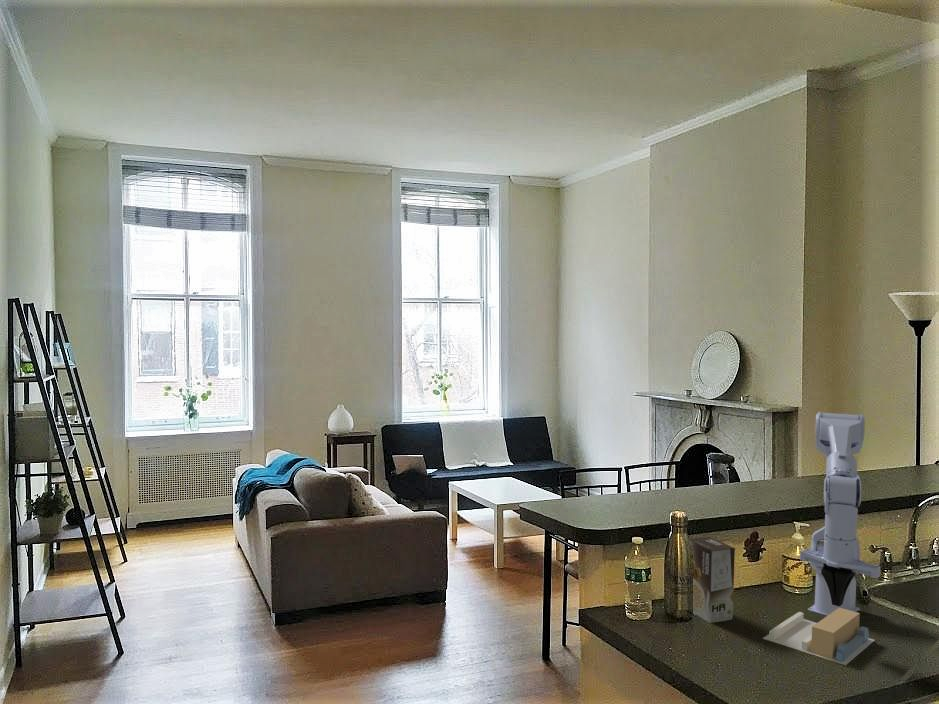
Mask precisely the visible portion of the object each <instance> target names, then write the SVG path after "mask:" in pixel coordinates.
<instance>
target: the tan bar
mask: <svg viewBox="0 0 939 704" xmlns="http://www.w3.org/2000/svg"><path fill="white" fill-rule="evenodd" d="M859 628H860V612H858V611H856V612H854V611H850V610H846V609H843V608H838V609H836V610H835V611H834V612H832V613H831V614H829V615H825V616H824V618H822V619H821V620H819V621H818V622H816V624H815V625H814V626H812V640H811V652H813V653H816V654H819V655H823V656H826V657H829V658H834V657H835V656H836V652H837V648H838V645H839V644H840V643H841V642H842V643H845V644H847V643H848V642H850V641H851V640H852V639H853V638H854V637H856V636H857V635H858V629H859Z"/></svg>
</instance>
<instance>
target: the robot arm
mask: <svg viewBox="0 0 939 704" xmlns="http://www.w3.org/2000/svg"><path fill="white" fill-rule="evenodd" d="M865 422H866V421H865V416H863V414H861V413H860V414H845V413H831V412H830V413H829V412H822V411H818V412H817V413H816V414H815V426H814V427H815V429H814V432H815V433H814V437H815V446H816V450H818V451H819V452H822V453H823V454H824V457H825V465H826V466H825V468H826V469H825V474H826V475H825V477H824V480H823V501H824V502H823V503H824V513H825V515H824V526H823V527H821V528H819V529H818V530H815V531H813V534H811V542H810V549H806V548H805V549H802V550H800V554H799V560H800V561H802V562H810V564H809V566H810V567H811V569H812V570H815V588H814V589H815V591H814V593H815V594H814V604H813V605H811V606H810V607H808V608H807V610H809V611H810V612H814V613H818V614H821V615H824V616H828V615H829V614H831V613H832V612H834V611H835V610H836V609H838V608H843V609H846V610H850V611H854V612H858V611H861V610H860V607H857V606H856V601H857V600H856V597H857V596H856V594H857V580H856V577H855V576H856V575H857V574H860V575H865V576H868V577H870V578H871V579H872V578H873V579H875V580H876V579H878V578H880V576H881V566H879V565H876V564H871V563H869V562H866V561H863V560H861V548H860V540H859V538H858V537H857V536H858V513H859V509H858V508H859V507H860V505H861V503H862V491H863V490H862V488H863V487H862V480H861V477H860V475H859V474H858V461H857V459H856V457H855V456H854V455H856V454H858V453H861V449H862V448H863V443H864V441H865V440H864V439H865V432H866V431H865V429H866V427H865V426H866V423H865ZM856 503H857V504H856Z"/></svg>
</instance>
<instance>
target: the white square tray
mask: <svg viewBox="0 0 939 704" xmlns="http://www.w3.org/2000/svg"><path fill="white" fill-rule="evenodd" d="M804 617H805V616H804V612H801V611H798V612H796V613H795V614H793V615H792V616H790V617H788V618H787V619H785V620H784V621H782V622H781V623H779V624H778V625H776V626H775V627H774V628H772V629H770V630H769V634H767V635H765V636H764V637H762V639H763V640H766V641H770V642H772V643H775V644H778V645H782V646H785V647H788V648H791V649H795V650H797V651H800V652H803V653H807V654H809V655H813V656H816V657H818V658H822V659H825V660H828V661H831V662H835V663H837V664H841V665H844V666H847V665H848V664H849V663H850V662H851V661H852V660H854V659H855V658H856V657H857V656H858V655H859V654H860V653H862V652H863V651H864V650H865V649H867V648H868V647H869V646H870V645H871V644H872V643H873V642H875V641H876V640H875V639H873V638H870V637H869V635H870V634H869V633H870V632H869V627H865V626H861V627H860V626H859V629H858V635H857V636H856V637H854V638H853V639H852V640H851V641H850V642H848V643H847V644H845V643H842V642H841V643H840V644H839V645H838V648H837V652H836V656H835V657H834V658H829V657H826V656H823V655H819V654H816V653H813V652H811V640H812V626H814V625H815V624H816V623H817V622H814V621H813V620H812V621H811V620H808V619H806V618H804Z"/></svg>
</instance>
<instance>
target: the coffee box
mask: <svg viewBox="0 0 939 704" xmlns="http://www.w3.org/2000/svg"><path fill="white" fill-rule="evenodd" d="M688 539H689V542H690V545H691V549H692V555H693V570H694V576H693V614H694V615H693V614H692V615H693V616H697V617H700V618H701V619H703V620H705V621H706V622H707V623H709V624H711V623H718V622H725V621H730V620H733V619H734V618H733V617H734V616H733V615H734V614H733V613H734V591H735V586H734V585H735V583H734V581H735V557H736V554H735V553H736V548H735V547H733V546H731V545H728V544H727V543H724V542H721V540H717V539H715V538H713V537H711V536H702V537H701V536H700V537H694V538H688Z"/></svg>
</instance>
